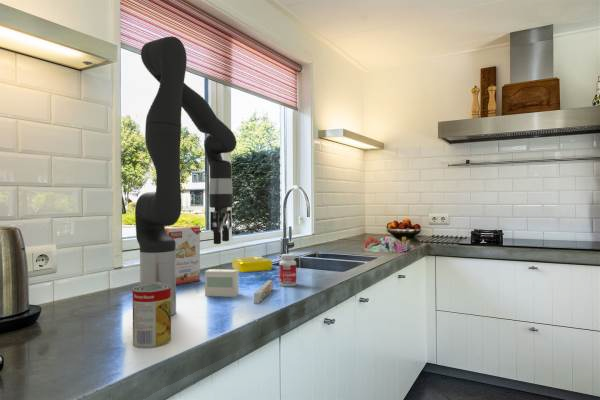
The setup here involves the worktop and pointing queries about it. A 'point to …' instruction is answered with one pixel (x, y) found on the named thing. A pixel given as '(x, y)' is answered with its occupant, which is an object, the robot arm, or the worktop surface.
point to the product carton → (221, 282)
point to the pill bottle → (287, 270)
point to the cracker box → (186, 253)
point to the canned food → (151, 315)
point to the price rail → (263, 291)
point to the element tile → (251, 264)
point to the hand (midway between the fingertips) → (221, 242)
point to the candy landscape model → (387, 244)
